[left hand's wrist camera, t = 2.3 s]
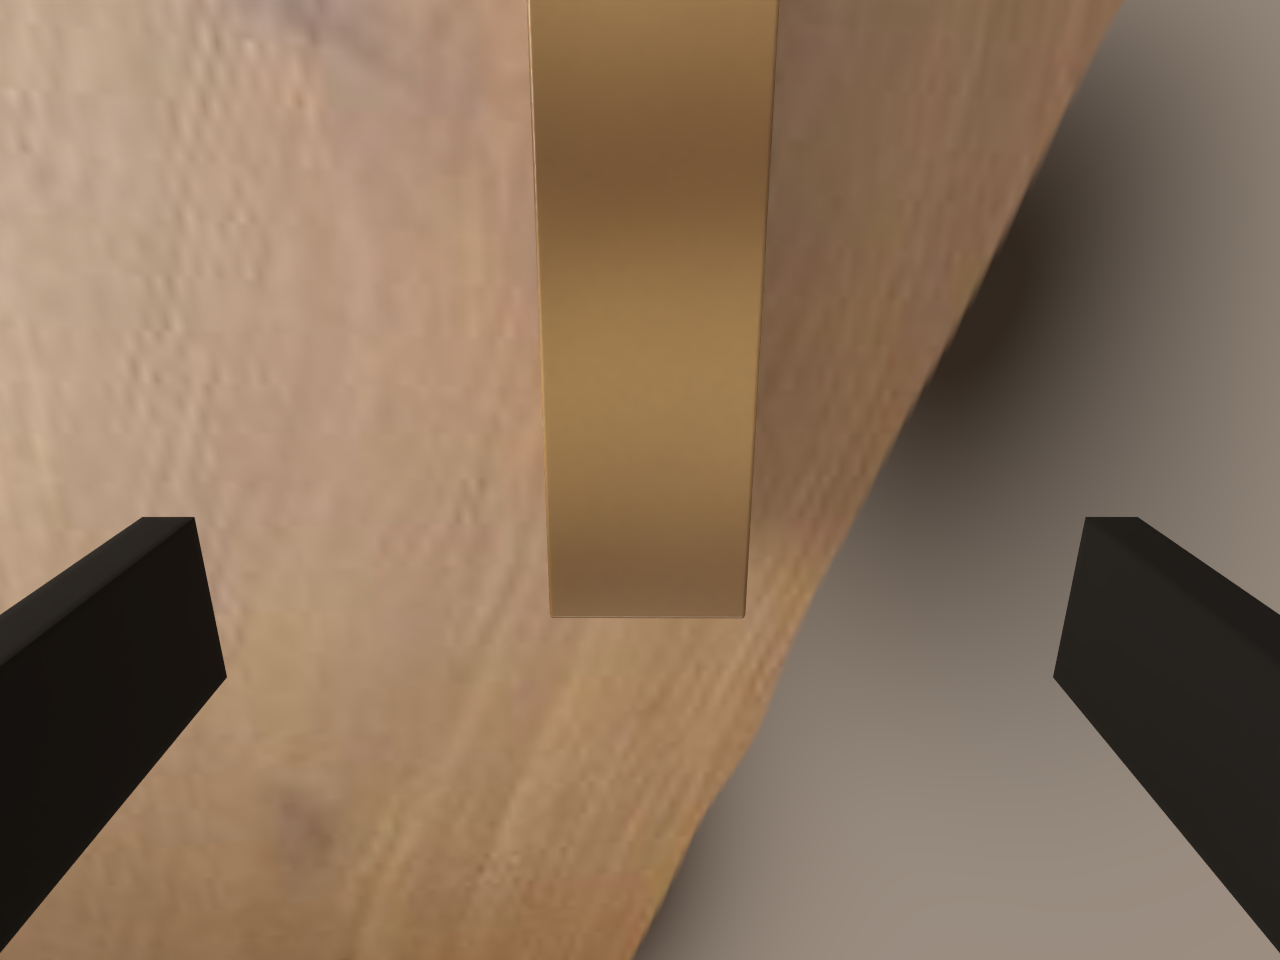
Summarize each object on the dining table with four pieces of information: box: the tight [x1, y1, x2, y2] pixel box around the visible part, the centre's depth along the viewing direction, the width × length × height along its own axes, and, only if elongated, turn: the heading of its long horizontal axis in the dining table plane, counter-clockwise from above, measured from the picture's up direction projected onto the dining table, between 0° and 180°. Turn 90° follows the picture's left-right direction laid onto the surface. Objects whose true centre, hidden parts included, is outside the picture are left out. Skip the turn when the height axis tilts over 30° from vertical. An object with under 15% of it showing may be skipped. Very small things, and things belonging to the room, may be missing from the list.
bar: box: [527, 0, 779, 618], centre depth 20 cm, size 21×5×8 cm, turn 0°
